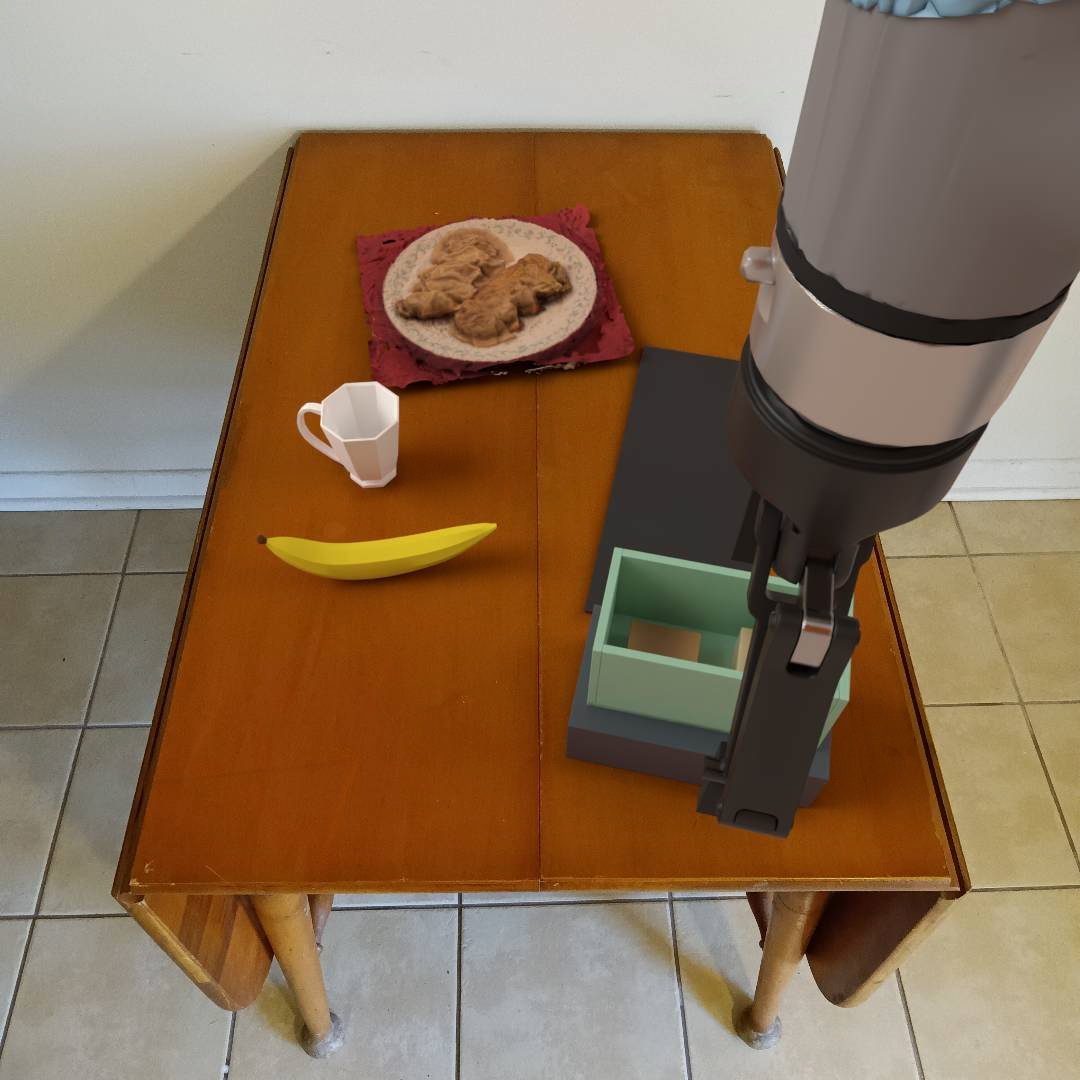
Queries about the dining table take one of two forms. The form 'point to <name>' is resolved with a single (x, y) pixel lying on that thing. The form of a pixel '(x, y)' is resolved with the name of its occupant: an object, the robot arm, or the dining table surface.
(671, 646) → the brown rectangular tile
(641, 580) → the open box
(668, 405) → the mat
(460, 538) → the banana
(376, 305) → the plate with food
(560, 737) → the dining table surface
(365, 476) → the cup
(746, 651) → the beige square block
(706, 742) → the block
